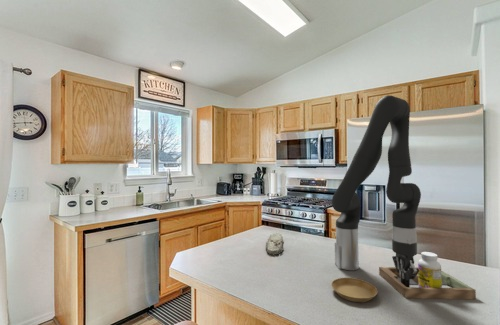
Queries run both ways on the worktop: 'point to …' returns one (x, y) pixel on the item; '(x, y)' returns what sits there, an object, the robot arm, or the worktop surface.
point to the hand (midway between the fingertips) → (405, 288)
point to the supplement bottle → (429, 271)
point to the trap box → (456, 292)
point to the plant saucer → (354, 289)
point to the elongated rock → (275, 244)
